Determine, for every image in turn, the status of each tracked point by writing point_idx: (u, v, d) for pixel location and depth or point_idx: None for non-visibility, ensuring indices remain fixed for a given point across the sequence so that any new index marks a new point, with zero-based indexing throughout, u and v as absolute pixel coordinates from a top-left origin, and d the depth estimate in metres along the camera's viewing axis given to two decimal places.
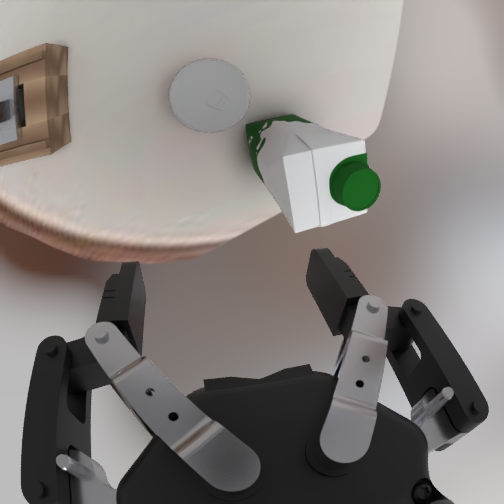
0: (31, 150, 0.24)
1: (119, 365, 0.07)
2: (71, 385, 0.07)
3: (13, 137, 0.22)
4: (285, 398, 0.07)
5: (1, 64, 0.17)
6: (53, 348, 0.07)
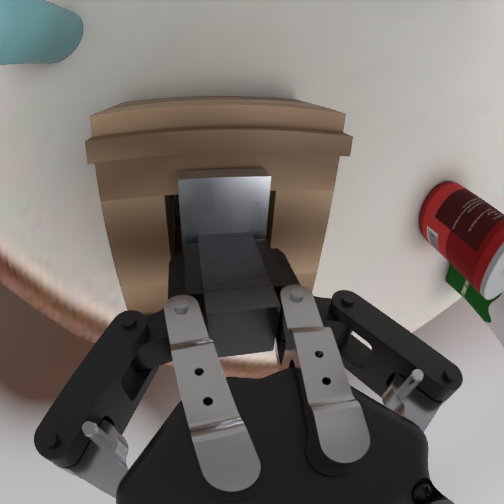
0: None
1: (185, 338, 0.08)
2: (136, 361, 0.09)
3: None
4: (285, 398, 0.07)
5: (200, 116, 0.11)
6: (131, 323, 0.08)
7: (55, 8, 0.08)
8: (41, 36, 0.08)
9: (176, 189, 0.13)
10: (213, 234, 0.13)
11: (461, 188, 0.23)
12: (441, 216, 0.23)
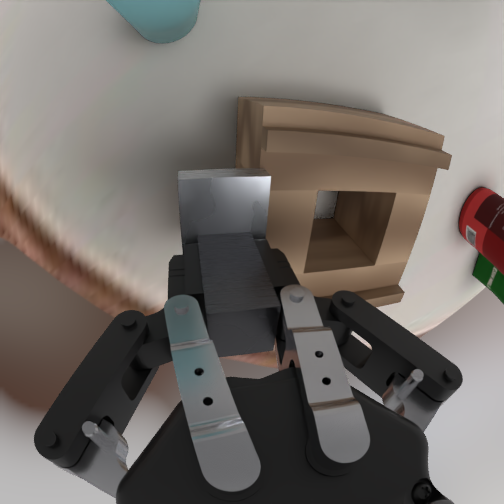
0: (379, 304, 0.20)
1: (185, 338, 0.08)
2: (136, 361, 0.09)
3: None
4: (285, 398, 0.07)
5: (357, 126, 0.13)
6: (131, 323, 0.08)
7: None
8: (194, 8, 0.09)
9: (329, 186, 0.15)
10: (213, 234, 0.13)
11: (493, 193, 0.25)
12: (479, 216, 0.25)
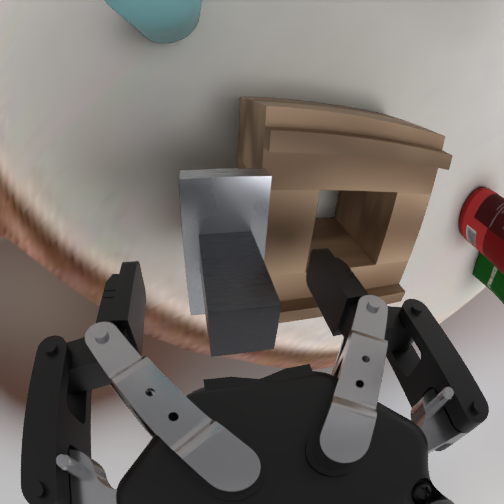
0: None
1: (119, 365, 0.07)
2: (71, 385, 0.07)
3: None
4: (285, 398, 0.07)
5: (359, 126, 0.13)
6: (53, 348, 0.07)
7: None
8: (195, 9, 0.09)
9: (330, 185, 0.15)
10: (214, 233, 0.13)
11: (493, 192, 0.25)
12: (479, 216, 0.25)
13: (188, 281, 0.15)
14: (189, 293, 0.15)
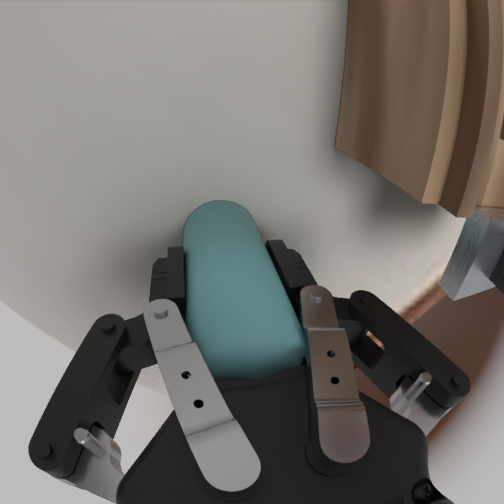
0: None
1: (167, 342, 0.08)
2: (119, 365, 0.09)
3: None
4: (285, 398, 0.07)
5: (457, 69, 0.06)
6: (110, 327, 0.08)
7: (206, 253, 0.11)
8: (264, 270, 0.10)
9: (499, 123, 0.07)
10: (495, 267, 0.10)
11: None
12: None
13: None
14: None
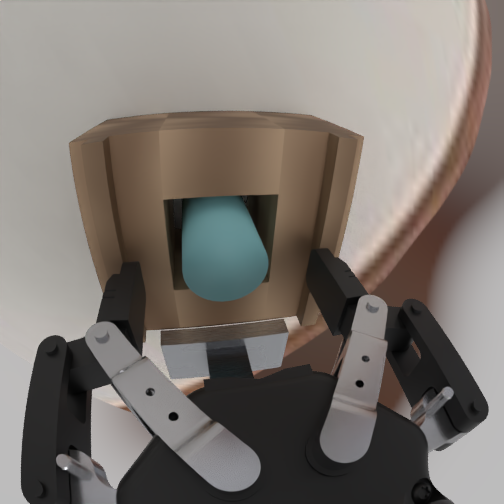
0: (346, 183, 0.13)
1: (119, 365, 0.07)
2: (71, 385, 0.07)
3: (281, 338, 0.18)
4: (285, 398, 0.07)
5: (104, 269, 0.14)
6: (53, 348, 0.07)
7: None
8: (236, 203, 0.15)
9: (167, 282, 0.15)
10: (207, 365, 0.18)
11: None
12: None
13: None
14: (258, 369, 0.20)
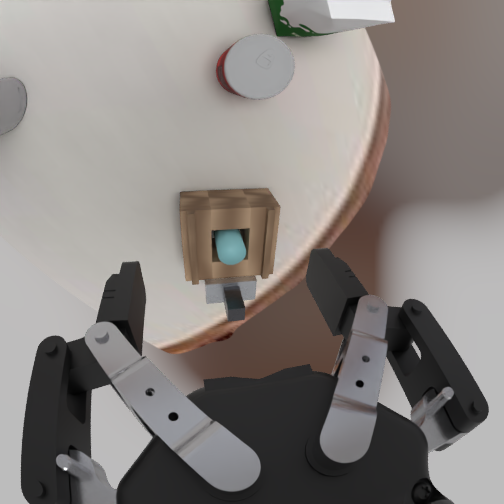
0: (272, 224, 0.41)
1: (119, 365, 0.07)
2: (71, 385, 0.07)
3: (253, 283, 0.46)
4: (285, 398, 0.07)
5: (186, 254, 0.42)
6: (53, 348, 0.07)
7: None
8: (235, 230, 0.43)
9: (210, 259, 0.43)
10: (223, 295, 0.46)
11: (217, 71, 0.32)
12: None
13: None
14: (245, 299, 0.47)
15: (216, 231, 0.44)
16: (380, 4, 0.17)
